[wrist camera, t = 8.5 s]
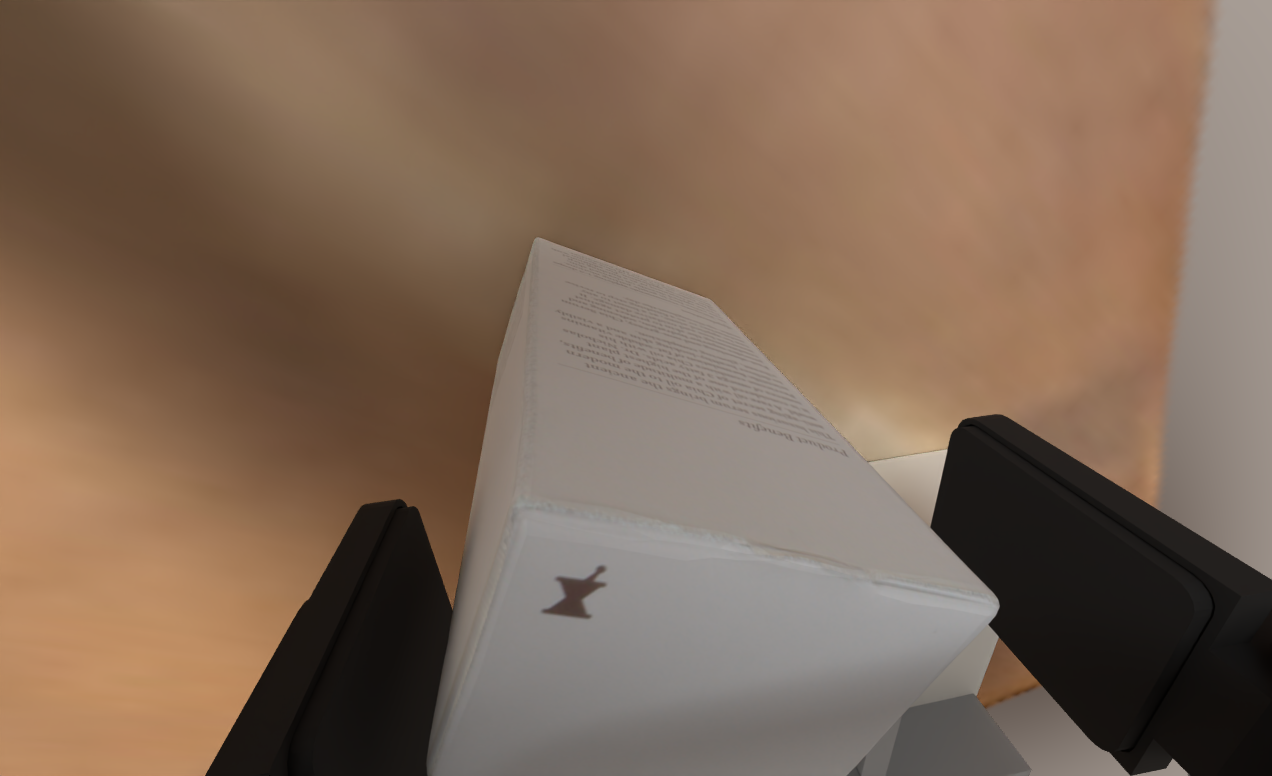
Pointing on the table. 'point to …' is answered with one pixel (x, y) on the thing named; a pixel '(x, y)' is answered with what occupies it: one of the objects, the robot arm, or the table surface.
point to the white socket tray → (941, 678)
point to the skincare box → (678, 555)
